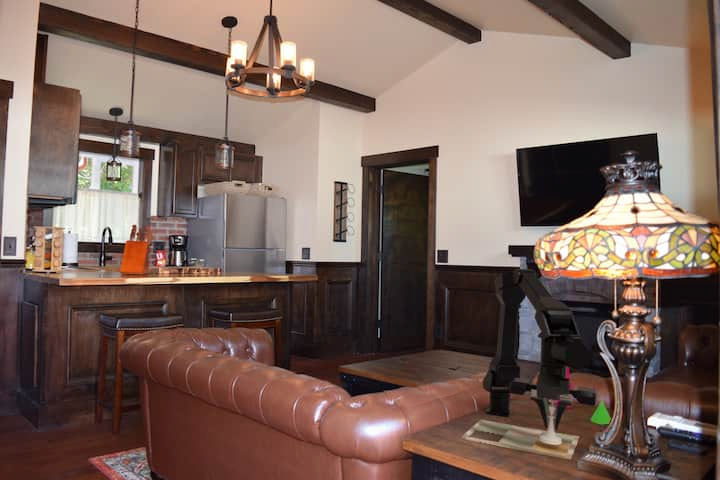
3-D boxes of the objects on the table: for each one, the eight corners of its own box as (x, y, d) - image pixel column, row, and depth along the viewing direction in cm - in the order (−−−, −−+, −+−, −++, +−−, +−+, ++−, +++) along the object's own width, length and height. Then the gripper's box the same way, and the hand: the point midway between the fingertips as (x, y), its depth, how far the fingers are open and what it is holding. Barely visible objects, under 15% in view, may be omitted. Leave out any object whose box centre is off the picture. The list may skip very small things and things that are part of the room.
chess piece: (563, 445, 124) (565, 401, 124) (540, 443, 125) (542, 398, 125) (560, 438, 128) (562, 395, 129) (538, 436, 129) (540, 393, 130)
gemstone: (598, 425, 147) (599, 403, 148) (585, 419, 153) (585, 397, 153) (618, 425, 148) (618, 403, 149) (604, 418, 154) (604, 397, 155)
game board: (480, 421, 146) (480, 419, 146) (579, 438, 135) (579, 436, 135) (461, 438, 131) (461, 436, 131) (570, 459, 120) (570, 457, 120)
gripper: (504, 360, 124) (502, 430, 124) (594, 371, 116) (592, 446, 115) (515, 353, 134) (513, 418, 134) (598, 363, 126) (596, 432, 125)
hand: (551, 428), depth 127 cm, fingers closed on chess piece
